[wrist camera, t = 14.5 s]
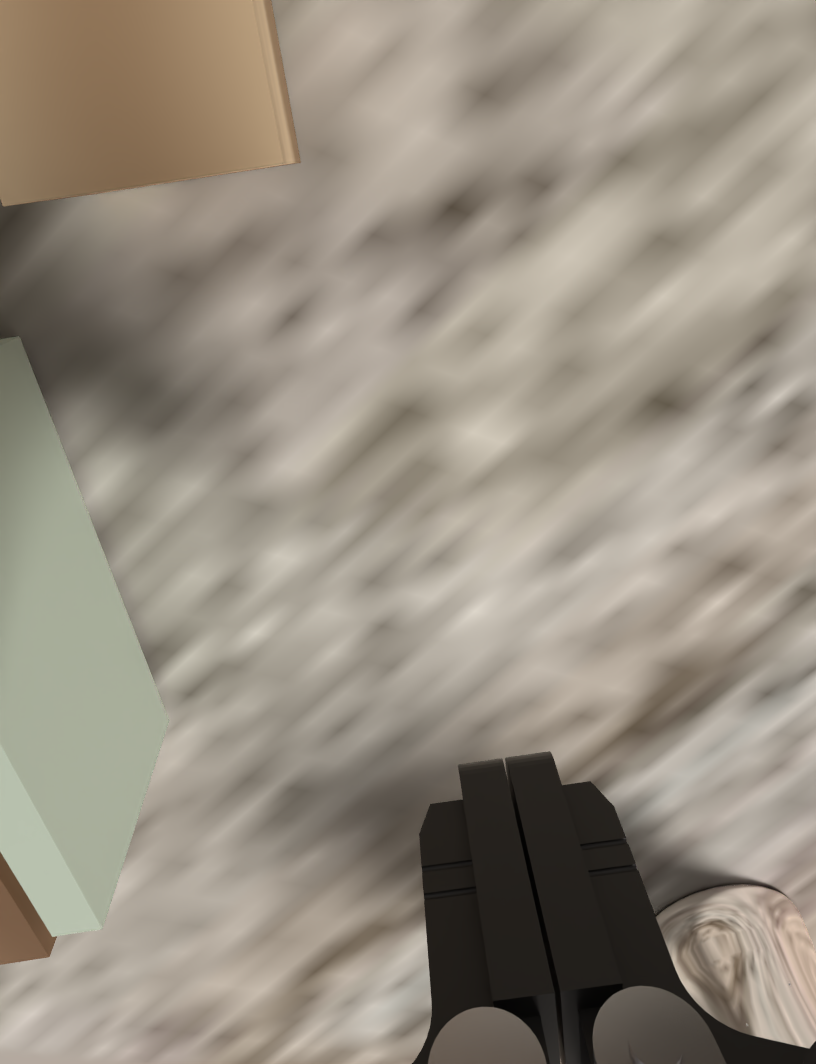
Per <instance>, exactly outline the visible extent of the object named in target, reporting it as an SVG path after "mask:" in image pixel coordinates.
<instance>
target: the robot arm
mask: <svg viewBox="0 0 816 1064" xmlns="http://www.w3.org/2000/svg"><path fill="white" fill-rule="evenodd" d="M505 761H506V772H507V776H506V772H505V767H504V763H503V760H502V759H495V760H488V761H481V762H474V763H467V764H460V765H458V767H459V774H460V781H461V788H462V795H463V800H457V801H449V802H442V803H435V804H430V807H429V809H428V812H427V815H426V817H425V820H424V823H423V825H422V828H421V831H420V834H419V836H420V850H421V863H422V872H423V873H422V877H423V890H424V899H425V900H424V904H425V917H426V931H427V944H428V958H429V971H430V985H431V998H432V1017H431V1025H430V1029H429V1032H428V1036H427V1039H426V1041H425V1043H424V1046H423V1048H422V1050H421V1052H420V1053H419V1055H418V1056H417V1058H416V1060H415V1061H414V1062H413V1063H412V1064H560V1058H561V1063H562V1064H816V1041H815V1042H814V1043H813V1045H812V1046H811V1047H810V1048H805V1047H800V1046H796V1045H792V1044H787V1043H783V1042H778V1041H774V1040H769V1039H765V1038H761V1037H756V1036H752V1035H749V1034H746V1033H742V1032H739V1031H737V1030H735V1029H733V1028H730V1027H728V1026H726V1025H725V1024H723V1023H721V1022H720V1021H718V1020H716V1019H715V1018H714V1017H712V1016H711V1015H710V1014H709V1013H707V1012H706V1011H705V1010H704V1009H703V1008H702V1007H701V1006H700V1005H699V1004H698V1003H697V1002H696V1001H695V1000H694V999H693V998H692V997H691V995H690V994H689V993H688V992H687V990H686V988H685V987H684V985H683V984H682V982H681V980H680V978H679V976H678V974H677V972H676V969H675V967H674V964H673V961H672V959H671V956H670V953H669V951H668V948H667V946H666V943H665V940H664V938H663V935H662V932H661V930H660V927H659V924H658V922H657V919H656V916H655V914H654V911H653V908H652V906H651V903H650V901H649V898H648V895H647V893H646V890H645V887H644V885H643V882H642V879H641V877H640V874H639V871H637V869H636V864H635V861H634V858H633V856H632V853H631V850H630V848H629V845H628V844H627V842H626V837H625V834H624V832H623V829H622V827H621V824H620V821H619V819H618V816H617V813H616V811H615V808H614V806H613V805H612V804H611V803H610V802H609V801H608V800H607V799H606V797H605V796H604V795H603V794H602V793H601V792H600V791H599V790H598V789H597V788H596V787H595V786H594V785H593V784H592V783H591V781H590V782H583V783H575V784H568V785H561V781H560V778H559V775H558V772H557V768H556V765H555V762H554V759H553V756H552V754H551V752H542V753H535V754H528V755H521V756H514V757H507V758H505Z"/></svg>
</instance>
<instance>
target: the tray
mask: <svg viewBox="0 0 816 1064" xmlns="http://www.w3.org/2000/svg"><path fill="white" fill-rule="evenodd" d="M168 723H169V719H168V716H167V713H166V711H165V708H164V706H163V703H162V701H161V698H160V696H159V693H158V690H157V688H156V685H155V683H154V680H153V678H152V675H151V672H150V670H149V667H148V665H147V662H146V660H145V657H144V654H143V652H142V649H141V647H140V644H139V642H138V639H137V637H136V634H135V631H134V629H133V626H132V624H131V621H130V619H129V616H128V613H127V611H126V608H125V606H124V603H123V601H122V598H121V596H120V593H119V590H118V588H117V585H116V583H115V580H114V578H113V575H112V572H111V570H110V567H109V565H108V562H107V560H106V557H105V554H104V552H103V549H102V547H101V544H100V542H99V539H98V537H97V534H96V531H95V529H94V526H93V524H92V521H91V519H90V516H89V513H88V511H87V508H86V506H85V503H84V501H83V498H82V496H81V493H80V490H79V488H78V485H77V483H76V480H75V478H74V475H73V472H72V470H71V467H70V465H69V462H68V460H67V457H66V454H65V452H64V449H63V447H62V444H61V442H60V439H59V437H58V434H57V431H56V429H55V426H54V424H53V421H52V419H51V416H50V413H49V411H48V408H47V406H46V403H45V401H44V398H43V396H42V393H41V390H40V388H39V385H38V383H37V380H36V378H35V375H34V372H33V370H32V367H31V365H30V362H29V360H28V357H27V354H26V352H25V349H24V347H23V344H22V342H21V339H20V337H19V336H17V337H10V338H4V339H0V852H1V854H2V855H3V857H4V859H5V860H6V862H7V863H8V865H9V867H10V868H11V870H12V872H13V873H14V875H15V877H16V878H17V880H18V881H19V883H20V885H21V886H22V888H23V890H24V891H25V893H26V895H27V896H28V898H29V899H30V901H31V903H32V904H33V906H34V908H35V909H36V911H37V913H38V914H39V916H40V917H41V919H42V921H43V922H44V924H45V926H46V927H47V929H48V931H49V932H50V934H51V935H52V937H55V936H61V935H68V934H74V933H81V932H87V931H94V930H100V929H103V926H104V923H105V920H106V916H107V913H108V910H109V907H110V904H111V901H112V898H113V895H114V891H115V888H116V885H117V882H118V879H119V876H120V873H121V870H122V866H123V863H124V860H125V857H126V854H127V851H128V848H129V845H130V841H131V838H132V835H133V832H134V829H135V826H136V823H137V820H138V817H139V813H140V810H141V807H142V804H143V801H144V798H145V795H146V792H147V788H148V785H149V782H150V779H151V776H152V773H153V770H154V767H155V763H156V760H157V757H158V754H159V751H160V748H161V745H162V742H163V738H164V735H165V732H166V729H167V726H168Z"/></svg>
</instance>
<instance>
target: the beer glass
mask: <svg viewBox="0 0 816 1064" xmlns="http://www.w3.org/2000/svg"><path fill="white" fill-rule="evenodd" d="M656 919H657V922H658V924H659V927H660V930H661V932H662V935H663V938H664V940H665V943H666V946H667V948H668V951H669V953H670V956H671V959H672V961H673V964H674V967H675V969H676V972H677V974H678V976H679V978H680V980H681V982H682V984H683V985H684V987H685V988H686V990H687V992H688V993H689V994H690V995H691V997H692V998H693V999H694V1000H695V1001H696V1002H697V1003H698V1004H699V1005H700V1006H701V1007H702V1008H703V1009H704V1010H705V1011H706V1012H707V1013H709V1014H710V1015H711V1016H712V1017H714V1018H715V1019H716V1020H718V1021H720V1022H721V1023H723V1024H725V1025H726V1026H728V1027H730V1028H733V1029H735V1030H737V1031H739V1032H742V1033H746V1034H749V1035H752V1036H756V1037H761V1038H765V1039H769V1040H774V1041H778V1042H783V1043H787V1044H792V1045H796V1046H800V1047H805V1048H810V1047H811V1046H812V1045H813V1043H814V1042H815V1041H816V951H815V948H814V946H813V943H812V941H811V938H810V935H809V933H808V930H807V928H806V925H805V923H804V921H803V919H802V916H801V914H800V913H799V911H798V909H797V907H796V906H795V905H794V904H793V903H792V901H791V900H790V899H789V898H787V897H786V896H785V895H783V894H781V893H780V892H778V891H775V890H773V889H770V888H766V887H762V886H757V885H746V884H738V885H726V886H720V887H715V888H710V889H707V890H703V891H700V892H697V893H694V894H692V895H689V896H687V897H685V898H683V899H681V900H679V901H677V902H675V903H673V904H672V905H670V906H669V907H667V908H666V909H664V910H663V911H662V912H660V913H659V914H658V915H657V916H656Z"/></svg>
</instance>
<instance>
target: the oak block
mask: <svg viewBox="0 0 816 1064" xmlns="http://www.w3.org/2000/svg"><path fill="white" fill-rule="evenodd" d="M295 163H301V161H300V156H299V150H298V145H297V139H296V134H295V129H294V123H293V118H292V112H291V107H290V101H289V96H288V90H287V85H286V79H285V74H284V68H283V63H282V57H281V52H280V46H279V41H278V35H277V30H276V25H275V19H274V14H273V8H272V3H271V0H0V199H1V202H2V205H3V206H10V205H18V204H25V203H33V202H40V201H47V200H55V199H62V198H69V197H77V196H84V195H92V194H98V193H105V192H112V191H118V190H125V189H131V188H138V187H144V186H151V185H157V184H164V183H171V182H177V181H184V180H190V179H197V178H203V177H210V176H216V175H223V174H230V173H236V172H243V171H249V170H256V169H262V168H269V167H275V166H282V165H289V164H295Z"/></svg>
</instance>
